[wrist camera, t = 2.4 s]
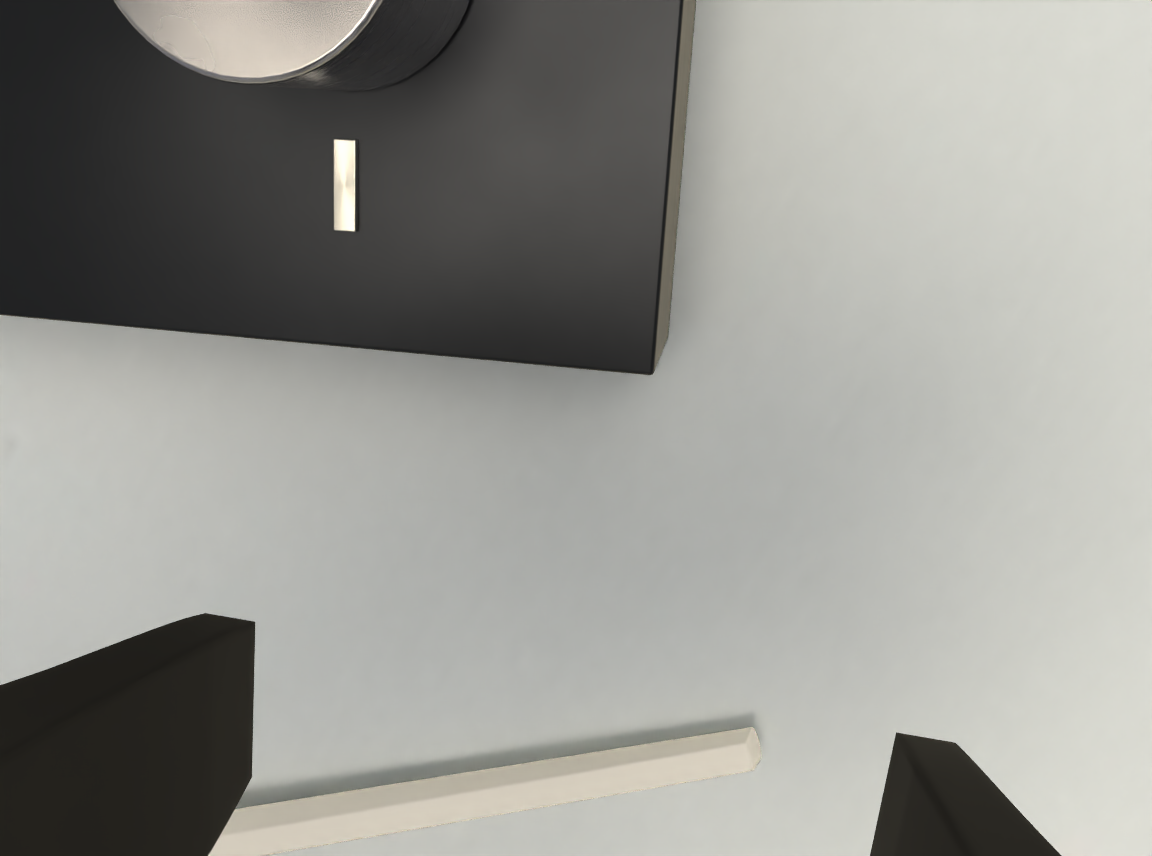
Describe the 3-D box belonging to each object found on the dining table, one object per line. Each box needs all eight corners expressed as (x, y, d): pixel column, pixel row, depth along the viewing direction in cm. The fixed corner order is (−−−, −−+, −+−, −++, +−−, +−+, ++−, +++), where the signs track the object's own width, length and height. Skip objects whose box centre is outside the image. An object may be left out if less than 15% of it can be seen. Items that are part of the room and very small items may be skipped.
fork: (777, 802, 22) (779, 861, 20) (-41, 922, 27) (-99, 980, 25) (740, 658, 22) (738, 707, 20) (-95, 806, 26) (-158, 856, 24)
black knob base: (-31, 278, 22) (-156, 303, 19) (-87, -300, 19) (-244, -379, 16) (668, 340, 20) (652, 379, 17) (720, -290, 17) (713, -377, 14)
